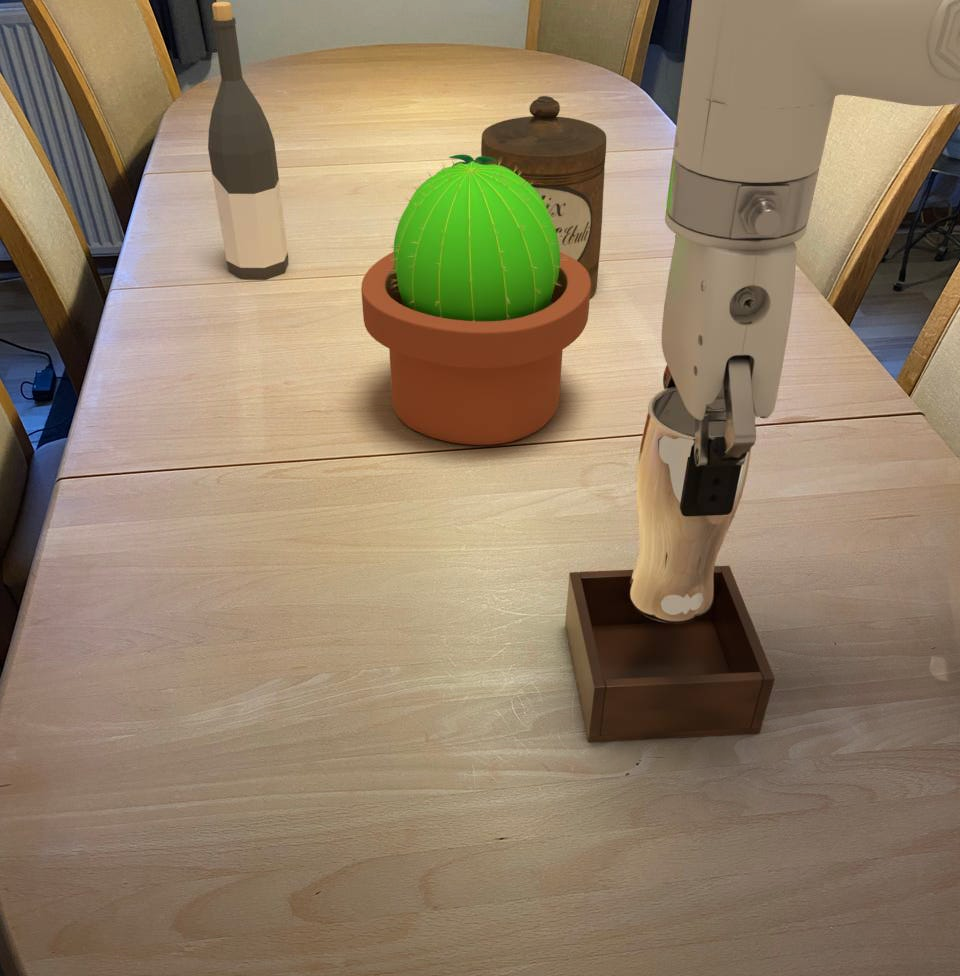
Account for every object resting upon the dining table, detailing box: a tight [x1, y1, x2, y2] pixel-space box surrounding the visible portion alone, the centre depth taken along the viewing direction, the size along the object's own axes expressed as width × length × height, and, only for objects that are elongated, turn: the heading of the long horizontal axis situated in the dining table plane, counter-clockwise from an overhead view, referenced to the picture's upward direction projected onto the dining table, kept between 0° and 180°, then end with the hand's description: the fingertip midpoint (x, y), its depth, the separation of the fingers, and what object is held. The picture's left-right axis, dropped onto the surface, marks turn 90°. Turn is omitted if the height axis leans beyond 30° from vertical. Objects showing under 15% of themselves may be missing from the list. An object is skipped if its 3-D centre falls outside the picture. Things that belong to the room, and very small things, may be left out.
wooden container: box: [480, 95, 607, 298], centre depth 123 cm, size 15×15×22 cm
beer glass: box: [628, 386, 757, 624], centre depth 68 cm, size 7×7×15 cm
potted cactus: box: [360, 154, 591, 446], centre depth 101 cm, size 22×22×25 cm
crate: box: [564, 565, 776, 743], centre depth 77 cm, size 13×13×6 cm
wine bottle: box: [207, 1, 289, 280], centre depth 125 cm, size 8×8×30 cm
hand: (691, 476), depth 66 cm, fingers closed on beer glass, 7 cm apart
